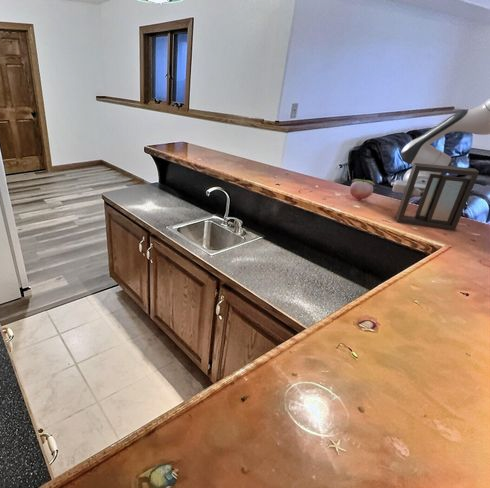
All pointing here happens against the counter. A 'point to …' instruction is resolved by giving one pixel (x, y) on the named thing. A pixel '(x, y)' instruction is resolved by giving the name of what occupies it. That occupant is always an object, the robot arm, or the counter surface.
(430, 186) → the sash
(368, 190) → the decorative fruit
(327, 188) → the counter surface
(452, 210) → the window frame
